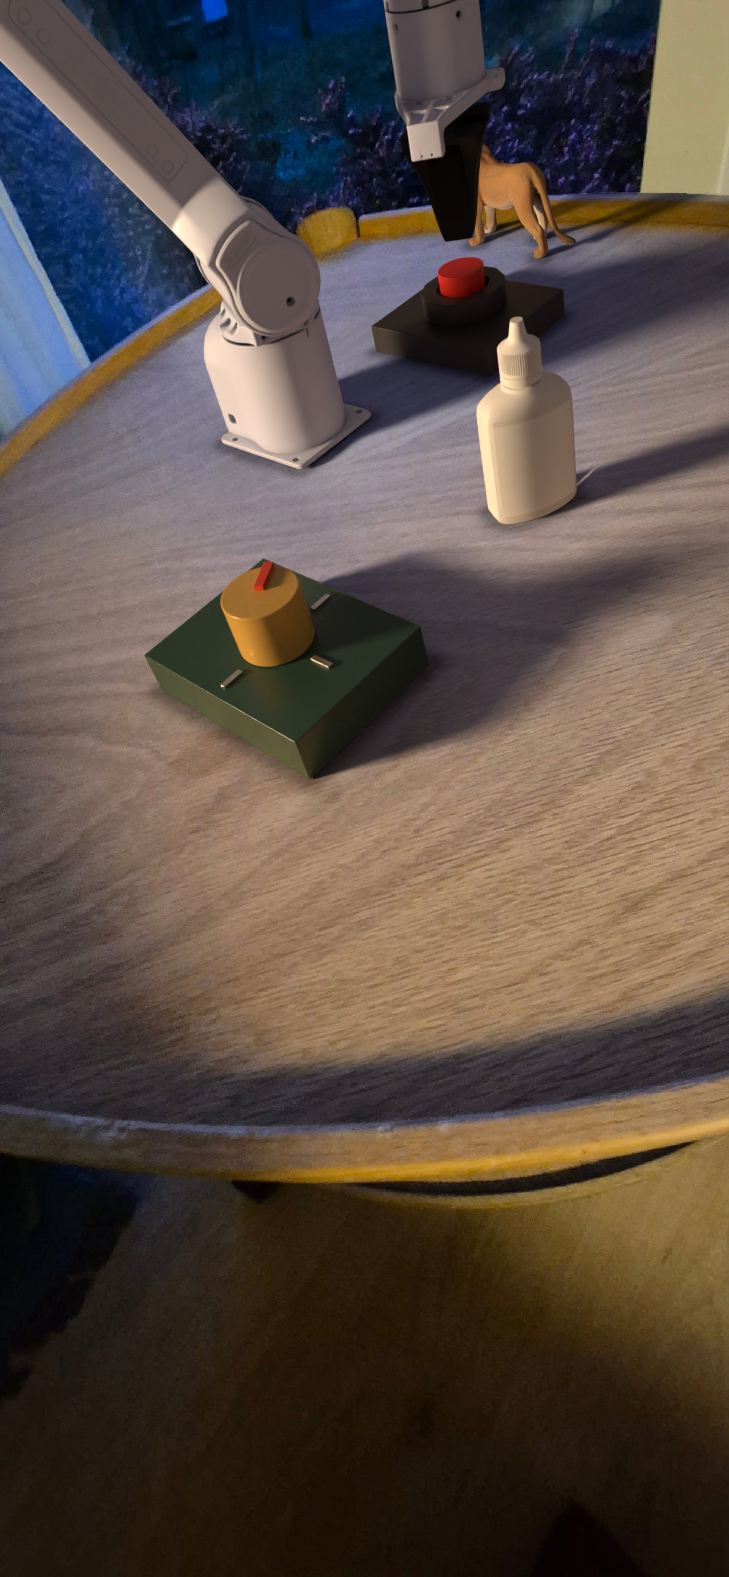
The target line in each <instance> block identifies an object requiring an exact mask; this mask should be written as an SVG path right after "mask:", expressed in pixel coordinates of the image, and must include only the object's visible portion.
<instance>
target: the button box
mask: <svg viewBox="0 0 729 1577" xmlns="http://www.w3.org/2000/svg"><path fill="white" fill-rule="evenodd" d="M484 273H485V283H486V286H485V288H483V289H482V290H481V291H479V292H477V293H474V294H471V295H468V296H466V297H458V298H448V297H442V296H441V293H440V286H439V279H438V275H437V276H435V277H434V278H432V279H431V280H430V281H428V282H427V283H425V284H424V286H423V288H422V289H420V290H419V291H418V292H416V293H415V294H414V295H412V296H411V297H409V298H408V299H407V300H405V301H404V302H403V303H401V304H400V305H398V306H397V307H396V308H394V309H393V310H391V311H390V312H389V313H388V314H386V315H384V316H383V317H382V318H380V319H379V320H378V321H377V322H375V323H374V324H372V325H371V333H372V337H373V343H374V347H375V351H376V353H379V354H380V353H381V354H384V355H389V356H394V357H398V358H402V359H406V360H410V361H411V360H412V361H416V362H421V363H425V364H428V365H429V364H430V365H434V366H437V367H441V368H442V367H443V368H446V369H451V370H456V371H460V372H464V373H469V374H473V375H478V376H482V377H486V378H487V377H488V378H490V377H492V376H493V375H494V374H496V373H497V372H498V371H499V363H498V354H497V347H498V345H499V344H500V343H501V342H502V341H503V340H504V339H506V338H508V335H509V326H510V320H511V319H512V318H514V317H522V318H523V322H524V325H525V329H526V332H527V334H531V335H534V336H536V337H537V338H538V339H539V338H540V337H541V336H543V335H544V334H545V333H546V332H547V331H548V330H550V329H551V328H552V327H553V326H554V325H556V324H557V323H558V322H559V321H561V320H562V319H563V318H564V317H565V316H566V312H565V311H566V310H565V291H564V288H562V287H561V288H560V287H554V286H547V285H541V284H534V283H529V282H528V283H527V282H522V281H514V280H509V279H506V275H505V274H504V273H503V272H502V271H500V270H499V269H498V268H497V267H494V266H486V265H484Z"/></svg>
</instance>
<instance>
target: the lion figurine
mask: <svg viewBox="0 0 729 1577" xmlns="http://www.w3.org/2000/svg"><path fill="white" fill-rule="evenodd" d="M547 190H548V189H547V182H546V176H545V174H544V173H543V171H542V169H541V168H540V167H539V166H537V165H536V164H535V163H533V162H531V161H525V162H520V163H506V162H503V161H499V160H498V159H497V158H496V157H495V155H494V154H493V153H492V151H491V149H490V148H489V147H488V145H486V144H485V143H484V142H483V147H482V153H481V160H480V170H479V185H478V206H477V219H476V226H475V231H474V234H475V235H473V237H472V238H470V239H468V240H469V241H468V244H469V245H470V246H471V247H476V246H477V247H478V246H479V245H481V244H483V243H484V242H485V240H486V239H485V238H486V234H490V233H494V232H495V231H496V230H497V228H498V227H497V226H498V224H497V210H501V211H508V210H511V209H514V210H515V213H516V216H517V217H518V220H519V221H520V222H521V225H522V226H523V227H524V228H525V230H527V232H529V234H531V236H532V237H533V239H534V240H535V241H536V242H537V246H536V247H534V250H533V257H534V259H542V258H544V257H545V256H546V255H547V254H548V252H549V244H548V239H547V236H548V226H549V225H550V227H551V229H552V232H553V233H554V235H555V236H556V237H557V238H558V239H559V240H560V242H561V243H563V244H564V245H565V246H573V245H575V244H576V243H577V240H576V239H575V238H574V237H572V236H570V235H569V234H566V233H564V232H563V231H562V230H560V228H559V226H558V224H557V222H556V219H555V216H554V213H553V210H552V205H551V202H550V197H549V194H548V191H547ZM483 212H485V224H484V223H483V218H482V217H483ZM548 222H549V224H548Z"/></svg>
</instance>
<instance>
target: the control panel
mask: <svg viewBox="0 0 729 1577" xmlns="http://www.w3.org/2000/svg"><path fill="white" fill-rule="evenodd" d="M264 562H272V561H271V560H268V559H266V558H262V559H261V560H259V561H258V562H257V563H256V564H254V565H253V566H252V567H251V568H249V569H248V570H247V571H250V570H252V569H255V568H259V567H262V566H263V563H264ZM274 565H275V566H280V567H284V568H286V567H285V566H282V565H280V564H278V563H275V562H274ZM288 569H289V570H291V571H292V572H294V573H295V575H296V576H297V577H298V579H299V582H300V585H301V588H302V592H303V595H304V598H305V601H306V604H307V607H308V610H309V613H310V616H311V619H312V622H313V625H314V628H315V636H314V640H313V642H312V644H311V645H310V647H309V648H308V649H307V650H306V651H305V652H304V653H303V654H302V655H301V656H299V657H298V658H296V659H294V660H292V661H290V662H288V663H285V664H282V665H278V666H272V667H261V666H256V665H253V664H251V663H249V662H247V661H246V660H245V659H244V658H243V657H242V655H241V653H240V651H239V648H238V646H237V643H236V641H235V639H234V636H233V634H232V631H231V629H230V627H229V624H228V622H227V620H226V617H225V615H224V612H223V610H222V608H221V596H222V593H223V591H224V590H222V591H221V592H220V593H219V594H218V595H216V596H214V597H213V598H212V599H211V600H210V601H209V602H208V603H206V604H205V605H204V606H203V607H202V608H200V609H199V610H198V611H196V612H195V613H194V614H193V615H191V616H190V617H189V618H188V619H186V621H184V622H183V623H182V624H180V625H179V626H178V627H177V628H175V629H174V630H173V631H172V632H170V633H169V634H167V636H166V637H164V638H163V639H162V640H161V641H159V642H158V643H157V644H156V645H155V646H153V647H152V648H151V649H150V650H148V651H147V652H146V653H145V654H144V655H143V657H144V658H145V660H146V663H147V664H148V666H149V668H150V670H151V672H152V673H153V676H154V677H155V679H156V682H157V683H158V685H159V687H160V689H161V691H162V692H164V693H165V694H166V695H168V696H170V697H172V698H173V699H175V700H177V701H178V702H180V703H182V704H183V705H185V706H187V707H188V708H190V709H192V710H194V711H195V712H197V713H198V714H200V715H201V716H203V717H205V718H207V719H208V720H210V721H212V722H213V723H215V724H216V725H218V726H220V727H222V728H223V729H225V730H227V731H228V732H230V733H231V734H233V735H235V736H237V738H240V739H241V740H243V741H244V742H247V743H248V744H250V745H252V746H253V747H255V748H257V749H258V750H260V751H262V752H263V753H265V754H266V755H269V756H270V757H272V758H273V759H275V760H276V761H278V762H279V763H282V764H283V765H285V766H286V767H288V768H290V769H291V770H293V771H295V772H296V773H298V774H300V775H302V776H303V777H305V778H307V779H308V780H312V779H313V778H314V777H315V776H316V775H317V774H318V773H319V772H320V771H321V770H322V769H323V768H324V767H325V766H326V765H327V764H328V763H329V762H330V761H331V760H333V758H335V756H337V755H338V754H339V753H340V752H341V751H342V750H343V749H344V748H345V747H346V746H347V745H348V744H349V743H351V741H352V740H353V739H354V738H356V736H357V735H358V734H360V733H361V732H362V731H363V730H364V729H365V728H366V727H367V726H368V725H369V724H370V723H371V722H372V721H374V719H376V717H377V716H379V714H380V713H381V712H383V711H384V710H385V709H386V707H388V706H389V705H390V704H391V703H392V702H393V701H394V700H395V699H396V698H397V697H398V696H399V695H400V694H401V693H402V692H403V691H404V690H406V688H407V687H409V686H410V685H411V684H412V683H413V682H414V681H415V680H416V679H417V678H418V677H419V676H420V675H421V674H422V673H423V672H424V671H425V670H427V668H428V667H429V666H430V661H429V657H428V653H427V652H428V651H427V647H426V644H425V638H424V634H423V633H424V632H423V629H422V626H421V625H420V624H417V623H416V622H413V621H410V620H409V619H406V618H404V617H401V616H399V615H397V614H394V613H393V612H390V611H387V610H386V609H383V608H380V607H379V606H376V605H373V604H371V603H369V602H366V601H364V600H362V599H359V598H357V597H355V596H353V595H351V594H347V593H345V592H343V591H341V590H339V589H336V588H335V587H331V586H329V585H326V584H324V583H322V582H319V581H317V580H315V579H313V578H310V577H309V576H306V575H305V574H301V573H298V572H296V571H294V570H292V569H290V568H288Z"/></svg>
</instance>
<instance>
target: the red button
mask: <svg viewBox="0 0 729 1577" xmlns="http://www.w3.org/2000/svg"><path fill="white" fill-rule="evenodd" d="M484 266H485V265H484V262H483V259H481V258H479V257H475V256H464V257H459V258H454V259H452V260H449V261H447V262H445V263H444V264H442V265H441V266H440V267H439V268H438V270H437V276H438V279H439V286H440V293H441V296H442V297H448V298H458V297H466V296H468V295H471V294H474V293H477V292H479V291H481V290H482V289H483V288H485V286H486V283H485V273H484Z"/></svg>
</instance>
